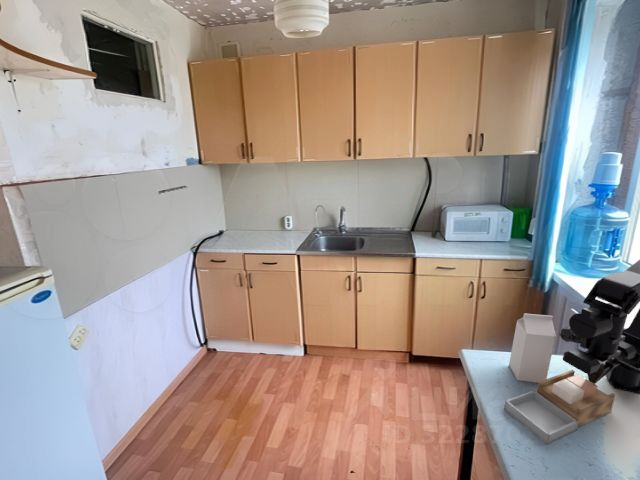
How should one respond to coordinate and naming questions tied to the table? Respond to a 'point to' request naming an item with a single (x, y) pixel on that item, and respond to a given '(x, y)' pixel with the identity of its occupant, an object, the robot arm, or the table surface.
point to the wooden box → (580, 409)
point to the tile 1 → (568, 391)
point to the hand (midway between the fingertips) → (591, 382)
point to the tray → (541, 416)
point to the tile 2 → (584, 385)
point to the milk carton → (532, 347)
